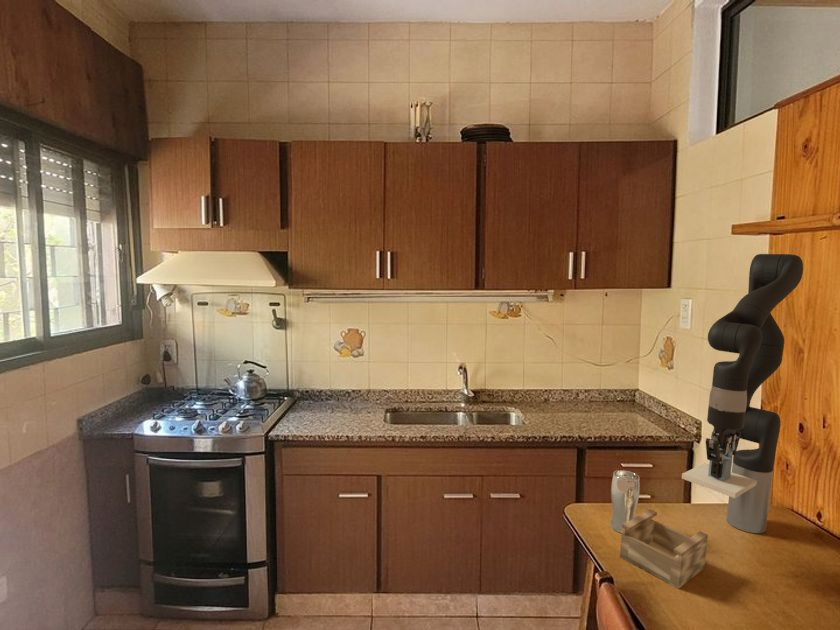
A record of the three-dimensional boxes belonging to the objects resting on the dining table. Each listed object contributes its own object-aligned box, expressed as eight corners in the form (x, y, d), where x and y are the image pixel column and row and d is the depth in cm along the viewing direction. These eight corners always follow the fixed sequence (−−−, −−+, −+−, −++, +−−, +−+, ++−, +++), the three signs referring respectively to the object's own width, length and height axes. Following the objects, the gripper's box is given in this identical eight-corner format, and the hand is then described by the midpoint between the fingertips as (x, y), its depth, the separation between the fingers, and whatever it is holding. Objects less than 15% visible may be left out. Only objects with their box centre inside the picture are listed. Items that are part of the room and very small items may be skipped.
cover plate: (704, 467, 126) (706, 444, 125) (756, 485, 116) (759, 460, 116) (681, 478, 119) (684, 454, 118) (734, 498, 109) (737, 472, 108)
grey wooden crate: (647, 539, 126) (649, 509, 125) (704, 567, 115) (707, 534, 114) (619, 557, 118) (622, 524, 117) (678, 588, 107) (681, 553, 106)
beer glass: (640, 528, 131) (644, 475, 130) (629, 538, 127) (634, 483, 125) (614, 518, 136) (619, 467, 135) (603, 527, 132) (608, 474, 130)
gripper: (723, 398, 122) (715, 463, 124) (696, 406, 114) (689, 476, 116) (756, 405, 116) (749, 474, 118) (731, 415, 108) (723, 488, 110)
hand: (719, 474), depth 117 cm, fingers closed on cover plate, 3 cm apart
